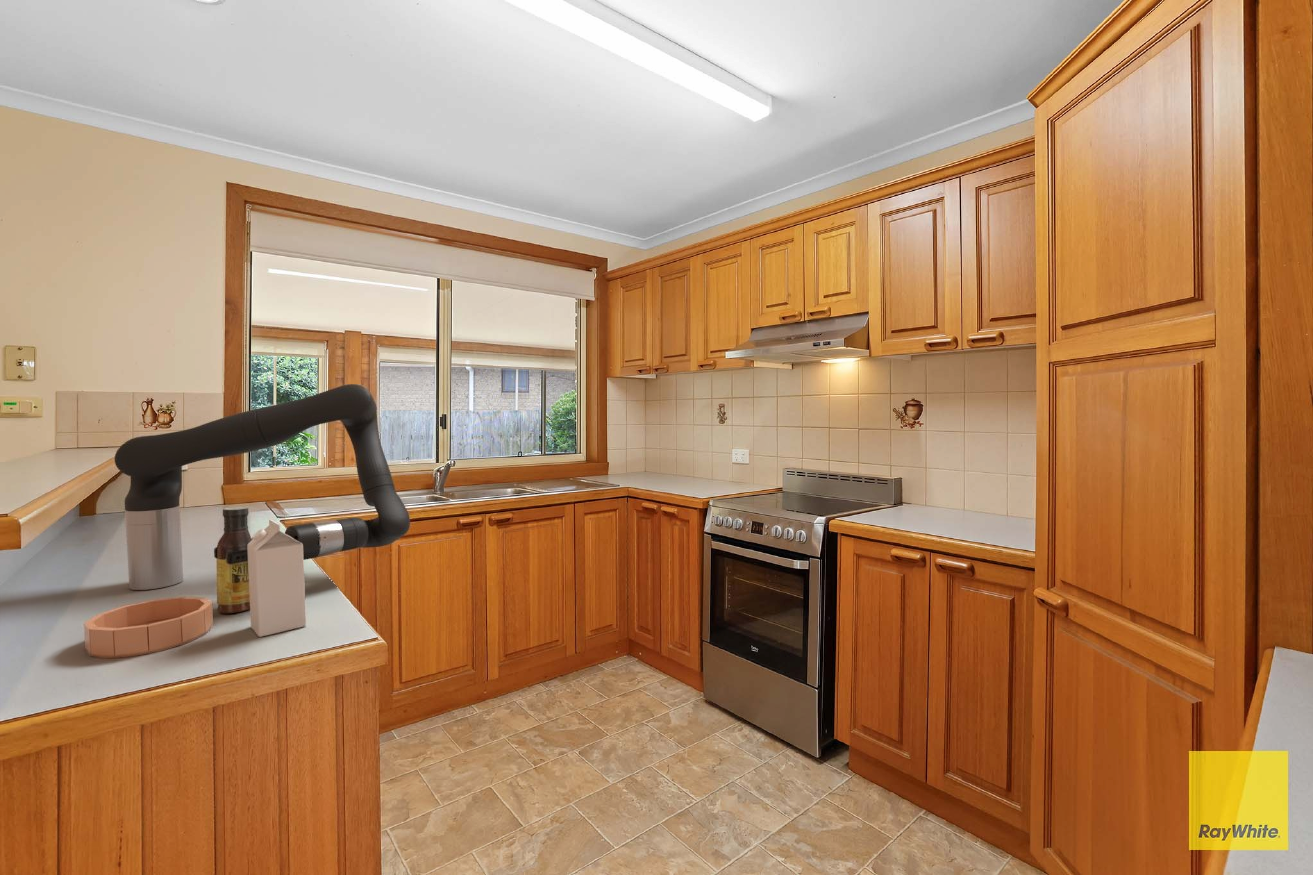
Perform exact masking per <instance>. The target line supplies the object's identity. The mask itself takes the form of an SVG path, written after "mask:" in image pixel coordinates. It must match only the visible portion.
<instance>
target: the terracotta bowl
mask: <svg viewBox="0 0 1313 875" xmlns="http://www.w3.org/2000/svg"><path fill="white" fill-rule="evenodd" d="M213 616H214V615H213V601H211V600H209V599H208V598H206V597H200V596H177V597H168V598H167V597H165V598H158V599H152V600H147V601H142V602H137V603H133V604H127V605H123V606H120V607H117V608H114V609H110V610H107V611H104V612H102V613H99V614H96V615H94V616H93V617H91V618H90V619H88V620H87V621H85V622H84V623H83V630H84V645H85V646H84V647H85V649H86V651H87V652H86V653H87V654H88V656H91V657H94V658H98V659H118V658H119V659H121V658H128V657H129V658H131V657H135V656H137V657H138V656H142V655H143V656H144V655H148V654H153V653H158V652H162V651H166V650H169V649H173V648H172V647H174V648H176V646H177V647H179V646H178V645H180V646H182V645H185V644H189V643H191V642H193V641H195V639H196V640H197V638H198V639H199V638H202V637H204V636H205V635H207V634H209V632H210V631H211V630H210V629H212V626H213V625H214V618H213ZM208 631H209V632H208ZM206 633H207V634H206ZM203 635H204V636H203ZM201 636H202V637H201ZM188 642H189V643H188Z"/></svg>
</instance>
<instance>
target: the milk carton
mask: <svg viewBox="0 0 1313 875" xmlns="http://www.w3.org/2000/svg"><path fill="white" fill-rule="evenodd" d="M268 524H269V525H267V526H266V527H265V528H264V529H263V528H262V529H259V530H257V531H256V532H254V534H253V535H252V537H251V538H252V539H253V540H252V541H251V542H249V543H248V545H247V549H248V572H249V595H250V609H249V612H250V614H249V616H250V627H251V629H252V630H253V631H254V632H255V633H256V635H257V636H258V637H259V638H260V637H265V636H269V635H274V634H279V633H283V632H286V631H290V630H291V631H292V630H295V629H299V628H303V627H306V626H307V617H306V614H307V613H306V589H305V587H306V586H305V565H304V564H305V562H304V561H305V560H303V544H302V543H300V542H299V541H297V540H295V539H294V538H292V537H290V536H288V535H287V534H285V532H283V531H281V527H280V526H281V525H280V523H278V522H276V521H275V520H273V519H270V518H269V519H268Z"/></svg>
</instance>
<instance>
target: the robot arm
mask: <svg viewBox="0 0 1313 875" xmlns="http://www.w3.org/2000/svg"><path fill="white" fill-rule="evenodd" d="M377 410H378V408H377V404H376V401H375V399H374V397H373V395H372V393H371V392H370V389H368V388H367V387H365V386H363V385H361V384H357V383H356V384H355V383H351V384H350V383H349V384H343V385H339V386H337V387H333V388H331V389H328V390H325V391H322V392H319V393H317V394H313V395H310V396H307V397H303V398H300V399H295V400H294V399H293V400H291V401H286V402H282V403H278V404H274V405H270V406H264V407H260V408H254V409H252V410H247V411H246V410H245V411H241V412H239V413H235V414H231V415H229V416H225V417H221V418H219V419H216V420H212V421H208V422H206V423H203V424H200V425H198V426H197V425H196V426H195V427H192V428H186V429H183V430H179V431H174V432H167V433H161V434H154V435H142V436H137V437H133V438H130V439H129V440H126V441H125V442H124V443H122V444H121V445H120V446H119V447H118V448H117V450H116V452H115V454H114V464H115V466H116V468H117V469H118V471H119V472H121V473H122V474H123V475H126V476H128V477H130V486H129V490H128V492H127V494H126V496H125V498H124V517H125V534H126V551H127V552H126V553H127V568H128V569H127V572H128V573H127V574H128V588H129V590H132V591H133V590H134V591H145V590H155V589H160V588H165V587H171V586H175V585H177V584H180V583H182V582H183V581H184V570H183V569H184V568H183V567H184V566H183V545H182V528H181V524H182V523H181V510H180V508H181V507H180V504H181V503H180V496H181V493H182V490H183V470H182V468H183V467H184V466H186V465H189V464H195V463H198V462H202V461H206V460H212V459H218V458H226V457H230V456H236V455H237V456H238V455H242V454H247V453H252V452H256V451H260V450H265V449H266V448H272V447H276V446H279V445H280V444H283V443H285V442H287V441H289V440H291V439H293V438H294V437H296V436H298V435H299V434H301V433H303V432H304V431H306V430H308V429H310V428H313V427H315V426H319V425H322V424H323V425H324V424H327V423H331V422H337V421H340V422H341V423H342V424H343V426H344V428H345V430H346V432H347V435H348V437H349V438H350V441H351V445H352V448H353V450H354V451H353V452H354V456H355V463H356V464H355V465H356V470H357V471H356V472H357V478H358V480H359V481H358V482H359V484H360V488H361V492H362V496H363V499H364V501H365V502H364V503H366V505H368V506H369V507H374V508H375V511H376V513H377V517H375V518H370V519H363V518H360V517H347V518H341V519H335V520H333V519H332V520H320V521H314V522H313V521H312V522H307V523H300V524H292V525H289V526H287V528H286V529H285V531H284V533H285V534H287V535H288V536H290V537H292V538H294V539H295V540H297V541H299V542H300V543H302V544H303V560H304V561H305V560H310V559H311V560H312V559H317V558H321V557H326V556H330V555H333V554H336V553H341V552H345V551H351V550H355V549H360V548H362V549H363V548H364V549H367V548H369V549H370V548H381V547H385V546H388V545H391V544H393V543H394V542H397V540H399V539H400V538H402V537H403V536H404V535H406V534H407V533H408V532H409V529H410V527H411V519H410V514H409V512H408V509H407V508H406V506H405V505H404V503H403V500H402V498H401V497H400V496H399V494H398V493H397V491H396V487H395V484H394V480H393V477H392V472H391V469H390V467H389V464H388V461H387V459H386V456H385V453H384V449H383V446H382V442H381V438H380V432H379V424H378V413H377V412H378V411H377ZM251 539H252V537H251ZM252 540H253V539H252ZM213 556H214V559H217V546H216V547H215V548H214V549H213ZM246 561H248V549H245V550H239V551H233V552H228V553H227V554H226V563H228V564H235V563H240V562H246Z"/></svg>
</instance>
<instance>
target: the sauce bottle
mask: <svg viewBox="0 0 1313 875" xmlns="http://www.w3.org/2000/svg"><path fill="white" fill-rule="evenodd" d="M249 514H250V513H249V507H248V506H234V507H226V508H223V509H222V517H223V527H224V528H223V534H222V536H221V537H220V538H219V540H218V541H217V542H218V543H217V546H216V547H217V558H216V602H217V611H218V612H219V613H220V614H229V615H230V614H237V613H241V612H246V611H250V595H249V572H248V561H246V562H240V563H235V564H228V563H226V554H227V553H228V552H233V551H239V550H245V549H247V545H248V543H249V542H251V541H252V539H251V538H252V537H251V533H250V532H249V526H248V516H249Z"/></svg>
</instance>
